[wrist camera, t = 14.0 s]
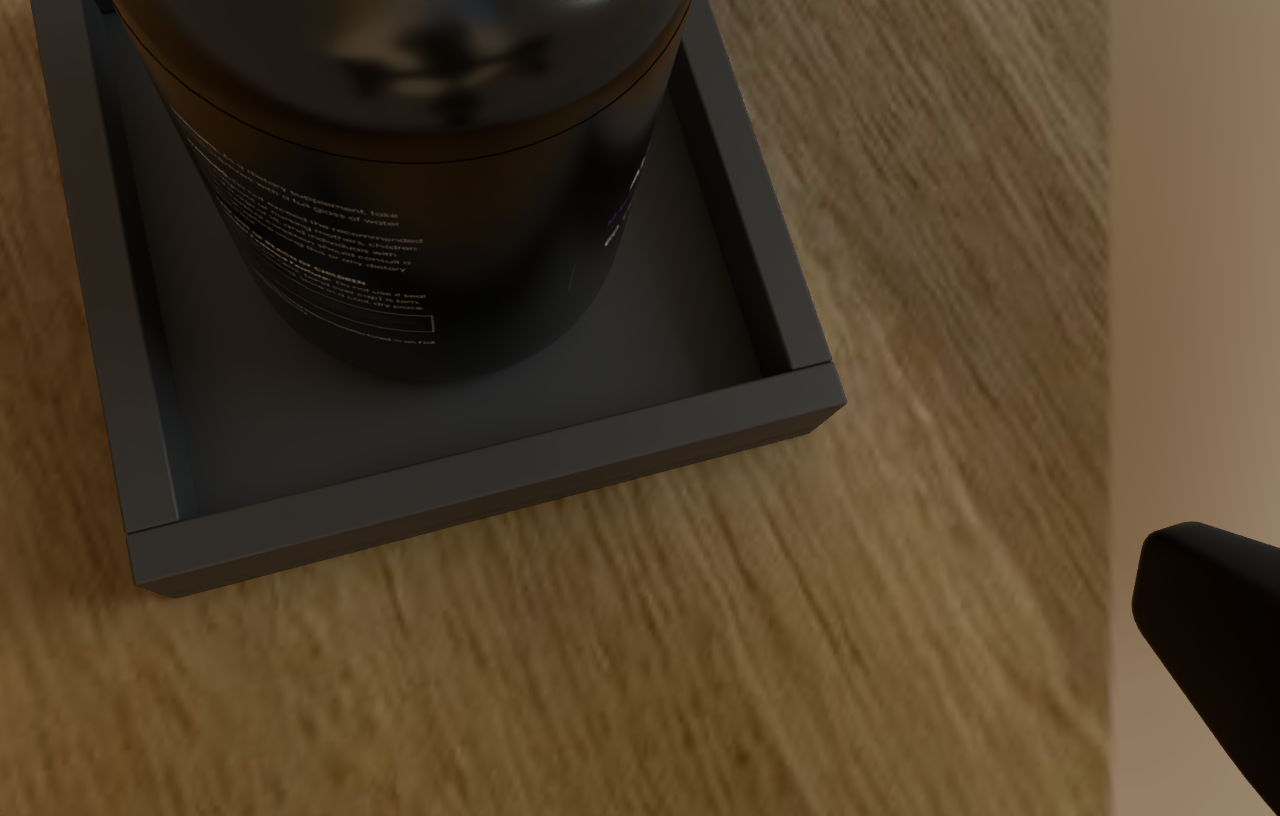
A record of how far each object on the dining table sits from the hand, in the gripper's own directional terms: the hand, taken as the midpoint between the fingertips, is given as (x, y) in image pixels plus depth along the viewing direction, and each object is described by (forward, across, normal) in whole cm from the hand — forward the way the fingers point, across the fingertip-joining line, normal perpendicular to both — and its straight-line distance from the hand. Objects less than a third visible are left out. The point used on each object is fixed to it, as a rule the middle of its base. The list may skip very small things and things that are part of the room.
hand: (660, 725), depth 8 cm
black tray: (+14, 0, 0) cm, 14 cm away
